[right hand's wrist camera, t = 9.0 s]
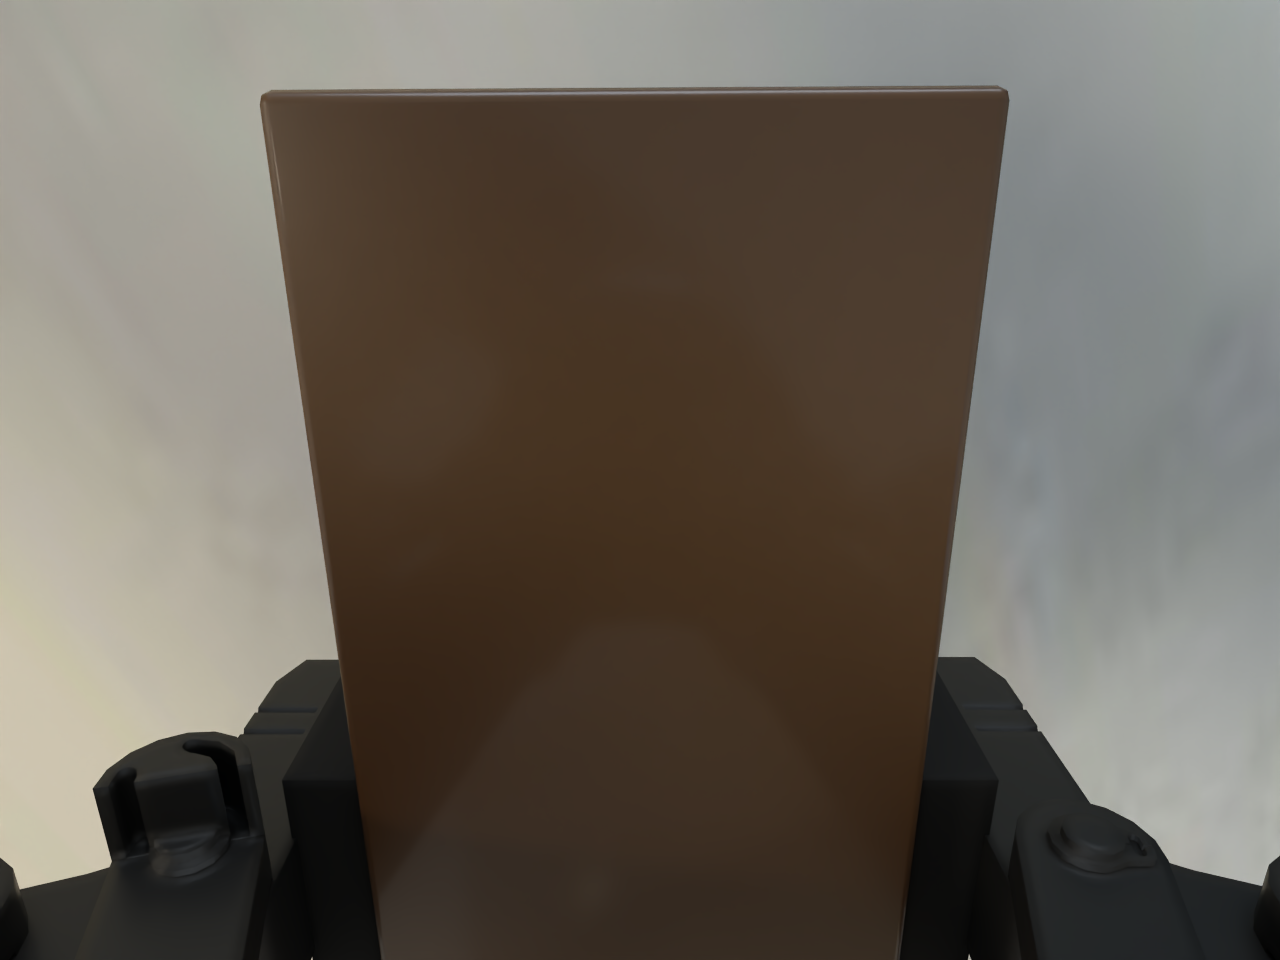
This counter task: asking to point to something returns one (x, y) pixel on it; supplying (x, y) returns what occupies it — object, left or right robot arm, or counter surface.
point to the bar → (637, 497)
